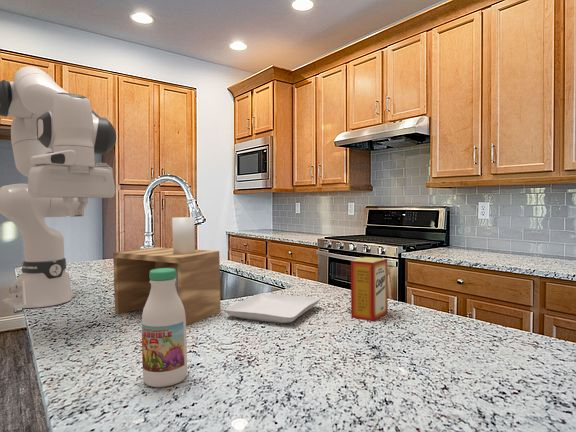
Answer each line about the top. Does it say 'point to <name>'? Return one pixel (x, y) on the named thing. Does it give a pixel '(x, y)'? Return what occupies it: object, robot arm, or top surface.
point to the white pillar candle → (183, 235)
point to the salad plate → (272, 307)
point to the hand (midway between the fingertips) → (76, 216)
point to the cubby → (191, 280)
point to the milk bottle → (163, 332)
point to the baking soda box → (369, 288)
